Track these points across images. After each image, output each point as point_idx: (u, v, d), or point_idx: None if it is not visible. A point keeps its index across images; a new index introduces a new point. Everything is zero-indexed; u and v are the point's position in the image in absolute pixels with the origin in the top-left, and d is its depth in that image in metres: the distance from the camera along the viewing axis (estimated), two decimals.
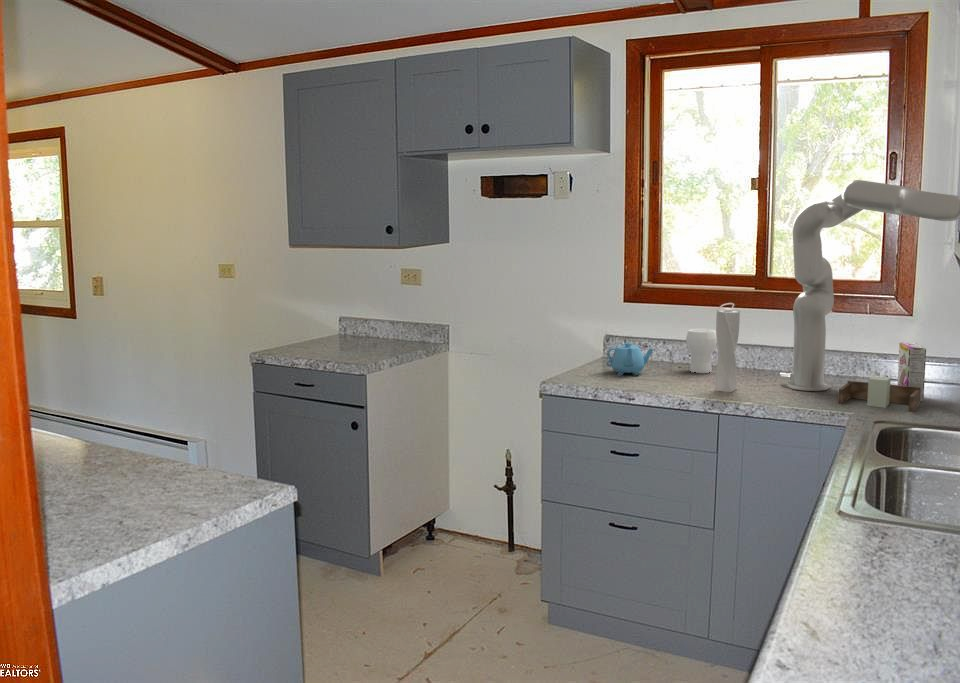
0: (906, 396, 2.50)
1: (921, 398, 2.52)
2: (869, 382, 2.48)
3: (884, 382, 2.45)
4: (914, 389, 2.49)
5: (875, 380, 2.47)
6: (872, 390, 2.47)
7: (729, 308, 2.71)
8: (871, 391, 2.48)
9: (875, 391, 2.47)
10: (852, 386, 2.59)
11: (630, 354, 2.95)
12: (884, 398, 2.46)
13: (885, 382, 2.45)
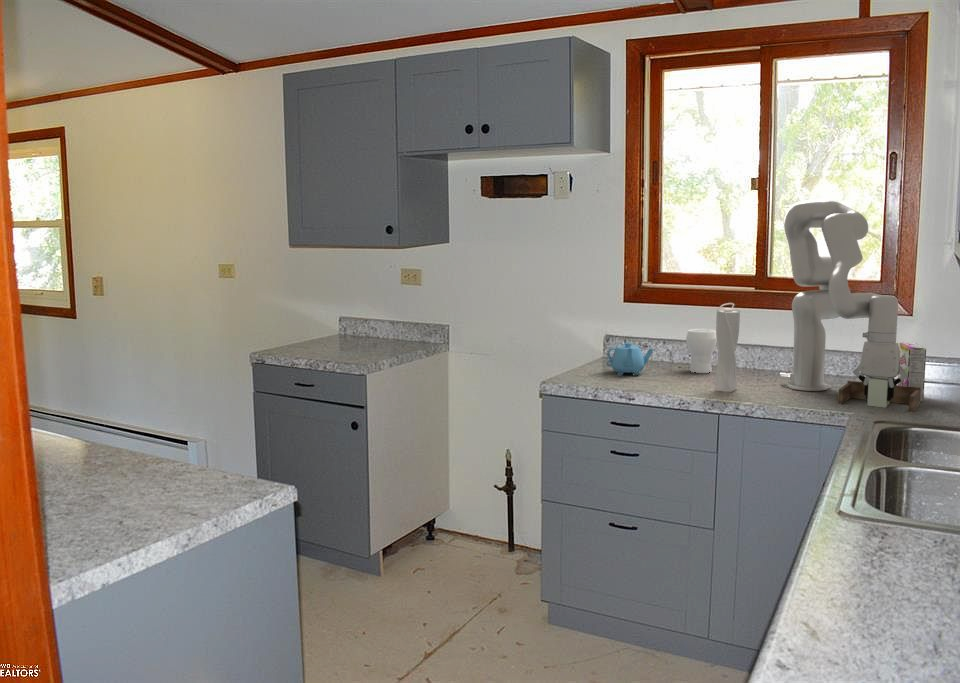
0: (906, 396, 2.50)
1: (921, 398, 2.52)
2: (869, 382, 2.48)
3: (884, 382, 2.45)
4: (914, 389, 2.49)
5: (875, 380, 2.47)
6: (872, 390, 2.47)
7: (729, 308, 2.71)
8: (871, 391, 2.48)
9: (876, 391, 2.47)
10: (852, 386, 2.59)
11: (630, 354, 2.95)
12: (884, 398, 2.46)
13: (885, 382, 2.45)
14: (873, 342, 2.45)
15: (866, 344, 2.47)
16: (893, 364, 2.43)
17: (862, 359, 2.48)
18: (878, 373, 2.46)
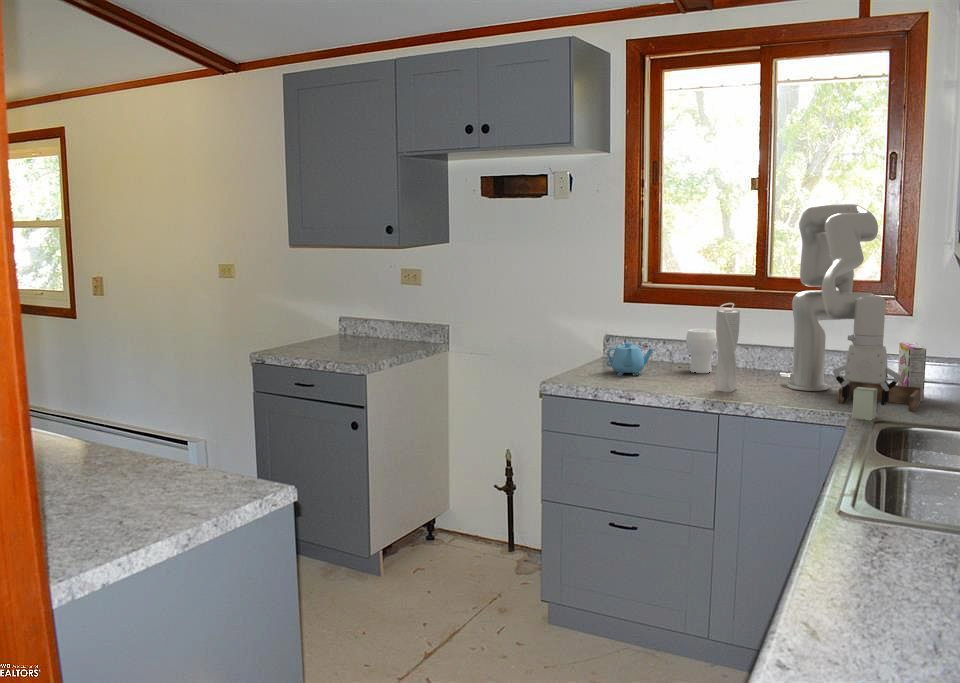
0: (906, 396, 2.50)
1: (921, 398, 2.52)
2: (854, 393, 2.32)
3: (870, 393, 2.30)
4: (914, 389, 2.49)
5: (861, 391, 2.31)
6: (857, 402, 2.32)
7: (729, 308, 2.71)
8: (856, 403, 2.32)
9: (861, 403, 2.32)
10: (852, 386, 2.59)
11: (630, 354, 2.95)
12: (870, 410, 2.31)
13: (871, 393, 2.30)
14: (859, 346, 2.29)
15: (851, 347, 2.31)
16: (880, 369, 2.28)
17: (847, 363, 2.32)
18: (864, 378, 2.30)
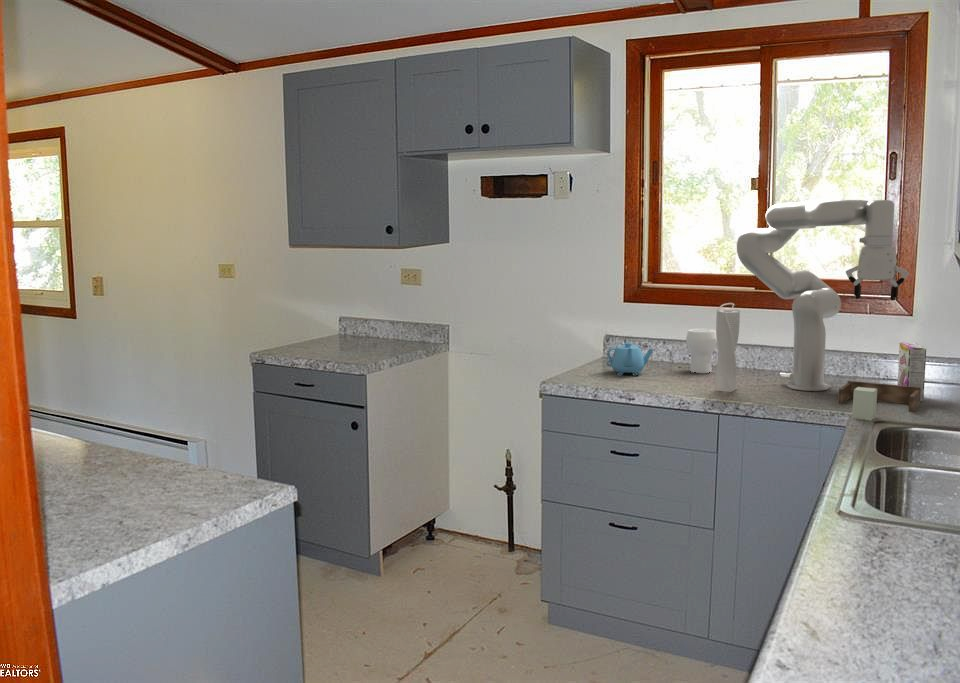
0: (906, 396, 2.50)
1: (921, 398, 2.52)
2: (854, 393, 2.32)
3: (870, 393, 2.30)
4: (914, 389, 2.49)
5: (861, 391, 2.31)
6: (857, 402, 2.32)
7: (729, 308, 2.71)
8: (856, 403, 2.32)
9: (861, 403, 2.32)
10: (852, 386, 2.59)
11: (630, 354, 2.95)
12: (870, 410, 2.31)
13: (871, 393, 2.30)
14: (870, 246, 2.50)
15: (863, 248, 2.53)
16: (889, 266, 2.49)
17: (859, 263, 2.54)
18: (874, 276, 2.51)
